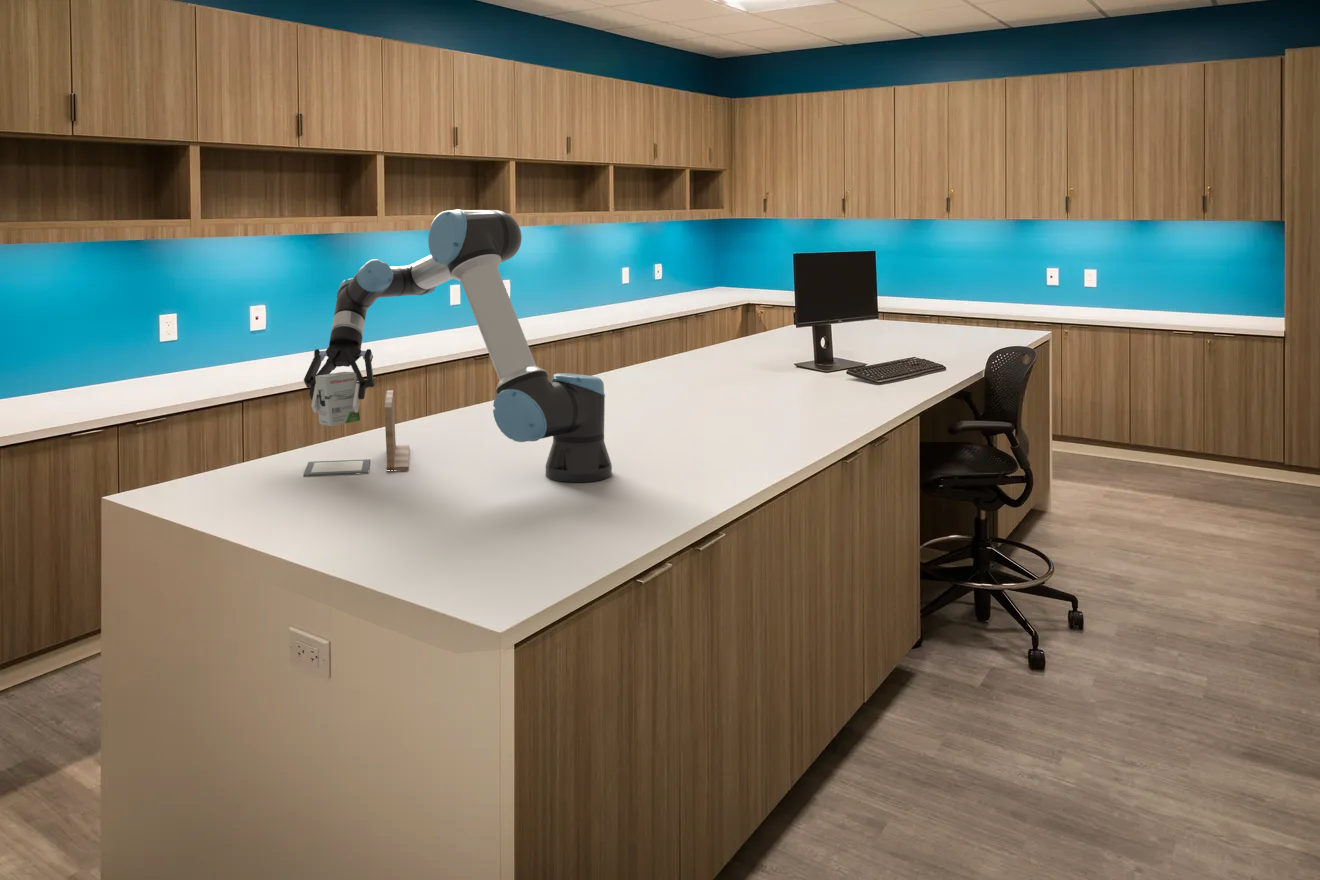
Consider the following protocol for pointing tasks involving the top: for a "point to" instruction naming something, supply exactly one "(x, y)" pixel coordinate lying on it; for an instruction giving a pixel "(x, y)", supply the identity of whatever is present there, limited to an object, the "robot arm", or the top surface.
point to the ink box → (336, 398)
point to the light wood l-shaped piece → (395, 453)
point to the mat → (337, 467)
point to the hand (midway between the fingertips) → (334, 409)
